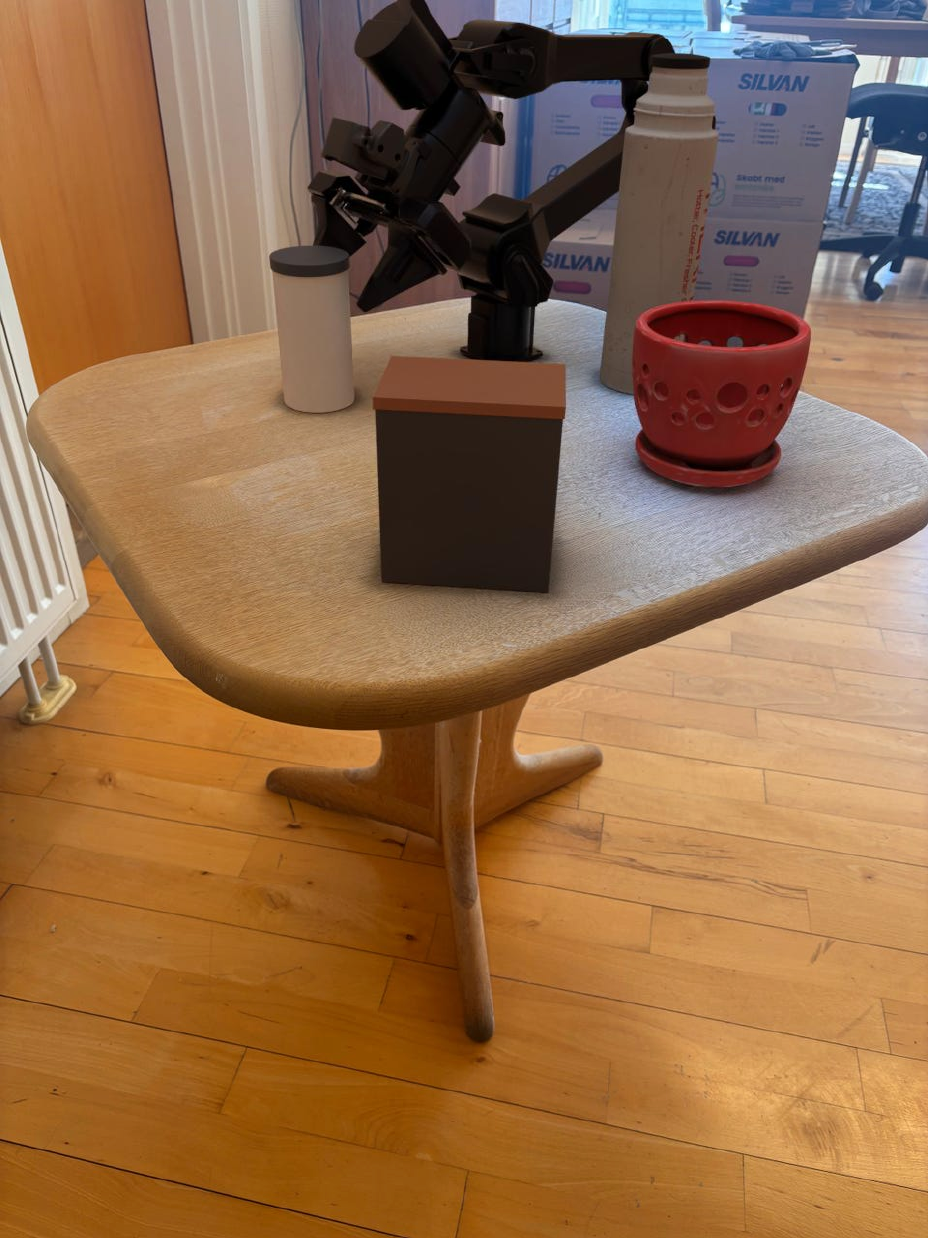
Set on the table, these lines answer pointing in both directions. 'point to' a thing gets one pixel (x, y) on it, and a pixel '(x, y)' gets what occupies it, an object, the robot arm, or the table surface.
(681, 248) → the thermos bottle
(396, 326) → the table surface
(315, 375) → the container
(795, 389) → the flower pot
